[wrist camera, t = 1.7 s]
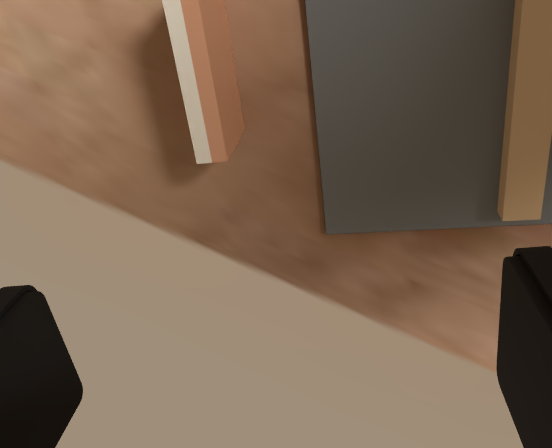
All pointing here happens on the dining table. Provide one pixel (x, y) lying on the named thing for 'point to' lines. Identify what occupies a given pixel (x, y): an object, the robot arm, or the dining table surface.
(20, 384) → the robot arm
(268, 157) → the dining table surface
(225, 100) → the tile
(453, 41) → the mat
